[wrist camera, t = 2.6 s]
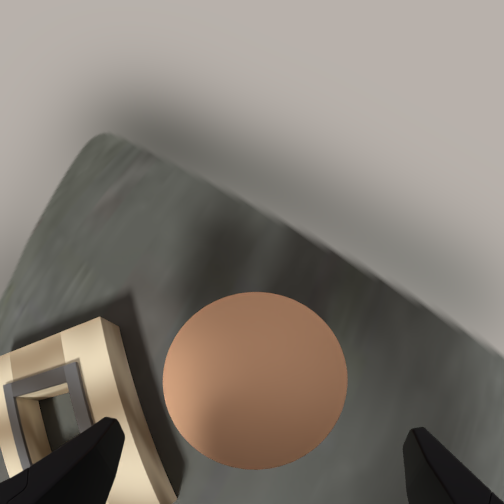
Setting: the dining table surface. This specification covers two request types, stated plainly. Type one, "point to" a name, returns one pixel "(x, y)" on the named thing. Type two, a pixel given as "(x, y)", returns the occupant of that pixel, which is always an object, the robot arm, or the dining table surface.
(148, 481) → the socket block
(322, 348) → the peg
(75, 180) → the dining table surface
